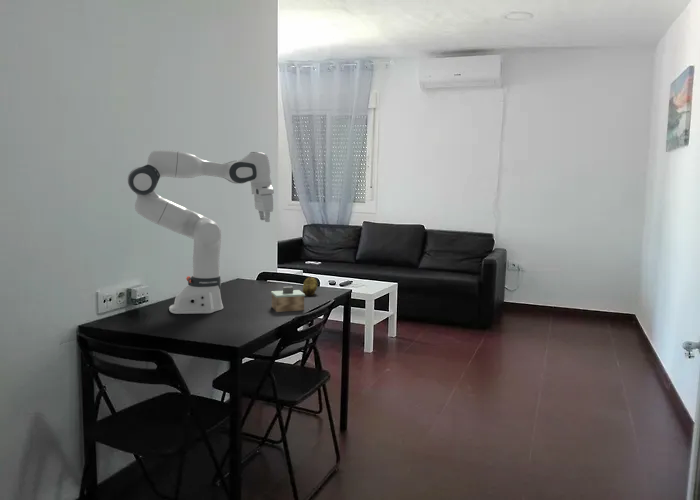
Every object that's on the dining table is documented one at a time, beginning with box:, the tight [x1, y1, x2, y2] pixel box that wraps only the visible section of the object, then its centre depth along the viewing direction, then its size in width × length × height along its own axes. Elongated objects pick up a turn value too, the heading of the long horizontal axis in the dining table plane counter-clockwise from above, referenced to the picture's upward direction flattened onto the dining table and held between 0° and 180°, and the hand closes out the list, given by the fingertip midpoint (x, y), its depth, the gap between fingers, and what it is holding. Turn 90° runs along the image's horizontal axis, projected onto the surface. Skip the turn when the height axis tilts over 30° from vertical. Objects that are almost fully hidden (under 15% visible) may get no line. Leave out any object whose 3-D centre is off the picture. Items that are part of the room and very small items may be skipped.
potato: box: [302, 276, 319, 297], centre depth 287 cm, size 8×13×8 cm, turn 163°
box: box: [271, 293, 305, 313], centre depth 253 cm, size 12×9×7 cm
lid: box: [270, 286, 306, 298], centre depth 252 cm, size 13×10×4 cm
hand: (265, 221), depth 256 cm, fingers open, 8 cm apart
